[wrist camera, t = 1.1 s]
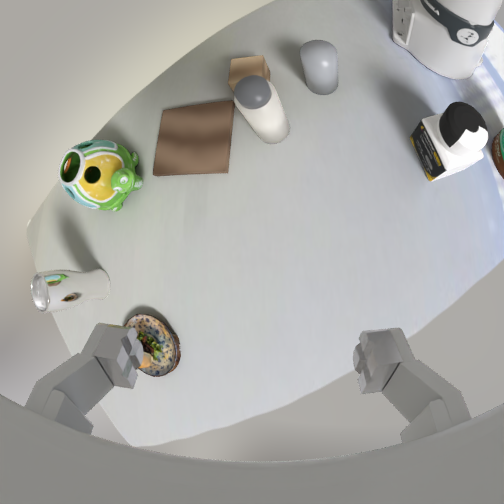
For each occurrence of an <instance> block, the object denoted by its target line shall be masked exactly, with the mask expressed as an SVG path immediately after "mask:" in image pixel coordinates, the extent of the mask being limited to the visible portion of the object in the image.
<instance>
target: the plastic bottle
mask: <svg viewBox="0 0 504 504" xmlns="http://www.w3.org/2000/svg"><path fill="white" fill-rule="evenodd" d="M234 102H235V104H236V106H237V108H238V109H239V110H240V112H241V113H242V114H243V116H244V117H245V118H246V120H247V121H248V123H249V124H250V125H251V127H252V128H253V129H254V131H255V132H256V134H257V135H258V137H259V138H260V139H261V140H262V141H263V142H265V143H268V144H277V143H280V142H282V141H283V140H285V139H286V138H287V136H288V135H289V132H290V125H289V122H288V119H287V117H286V114H285V112H284V109H283V107H282V104H281V102H280V99H279V97H278V94H277V92H276V89H275V87H274V85H273V84H272V83H271V82H269V81H267V80H266V79H265V78H263V77H261V76H258V75H251V76H247V77H244V78H243V79H241V80H240V81H239V82H238V83H237V84H236V86H235V88H234Z"/></svg>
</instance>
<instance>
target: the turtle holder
mask: <svg viewBox="0 0 504 504" xmlns="http://www.w3.org/2000/svg"><path fill="white" fill-rule="evenodd" d="M67 160H68V163H67V166H66V169H65V171H64V165H65V163H66V161H67ZM138 161H139V158H138V155H137V154H136V153H135V152H133V153H132V154H131V155H130V153H129V151H128V150H127V149H126V148H124V147H123V146H122V145H119V144H116V143H114V142H113V141H110V140H90V141H86V142H83V143H81V144H79V145H76V146H74V147H72V148H71V149H69V150H68V151H67V152H66V153H65V154H64V156H63V158H62V160H61V163H60V166H59V170H58V177H59V180H60V182H61V185H62V187H63V188H64V190H65V191H66V192H67V193H68V194H69V196H70V197H72V198H73V199H74V200H75V201H77V202H78V203H80V204H82V205H84V206H86V207H88V208H91V209H99V210H110V209H111V210H112V211H118V210H120V209H121V208H122V202H123V201H124V200H125V199H126V198H127V196H128V195H129V193H130V192H131V191H134V190H138V189H140V188H141V187H142V185H143V179H142V178H141V177H140V176H138V175H136V173H135V166H137V164H138Z"/></svg>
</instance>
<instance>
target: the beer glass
mask: <svg viewBox="0 0 504 504" xmlns="http://www.w3.org/2000/svg"><path fill="white" fill-rule="evenodd" d="M109 292H110V280H109V277H108V275H107V273H106V272H105V271H104V270H102V269H99V268H98V269H94V270H91V271H88V272H79V271H73V270H63V269H59V270H49V271H44V272H37V273H35V274H34V275H33V277H32V280H31V295H32V300H33V302H34V305H35V307H36V308H37V310H38V311H39V312H40V313H50V312H58V311H63V310H67V309H70V308H73V307H75V306H77V305H79V304H81V303H84V302H86V301H88V300H103V299H105V298H107V296H108V295H109Z"/></svg>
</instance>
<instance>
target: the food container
mask: <svg viewBox="0 0 504 504" xmlns="http://www.w3.org/2000/svg"><path fill="white" fill-rule="evenodd" d="M492 156H493V160H494V163H495V166H496V168H497V170H498V172H499V173H500V175H501V176H502V177H503V179H504V128H503V129H502V130H501V131H500V132H499V134H498V135H497V136H496V137H495V138H494V140H493V142H492Z"/></svg>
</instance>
